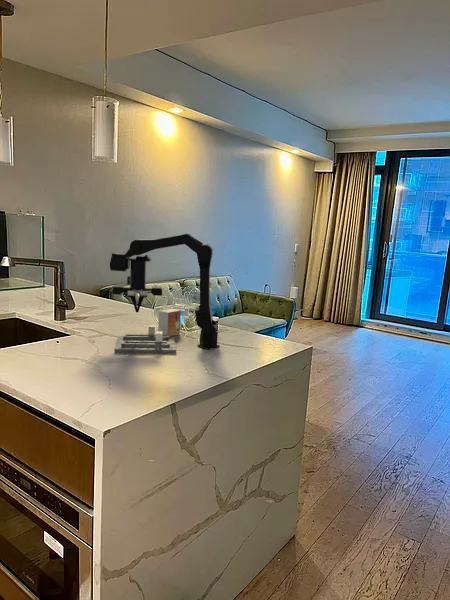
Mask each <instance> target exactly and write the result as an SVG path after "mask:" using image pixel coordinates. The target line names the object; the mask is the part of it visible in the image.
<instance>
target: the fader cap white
mask: <svg viewBox="0 0 450 600" xmlns="http://www.w3.org/2000/svg"><path fill="white" fill-rule="evenodd" d="M155 334H156V344H161V342H162V331H158V330H157V331H155Z"/></svg>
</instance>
